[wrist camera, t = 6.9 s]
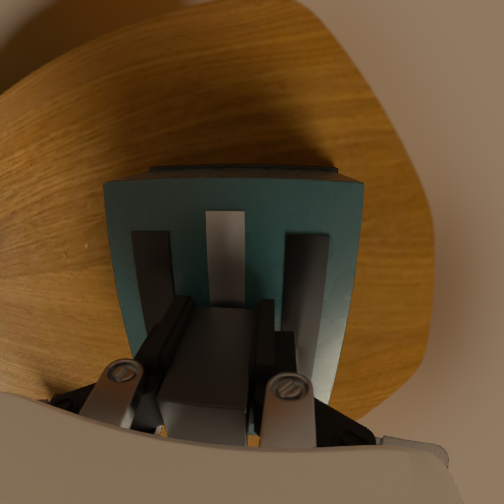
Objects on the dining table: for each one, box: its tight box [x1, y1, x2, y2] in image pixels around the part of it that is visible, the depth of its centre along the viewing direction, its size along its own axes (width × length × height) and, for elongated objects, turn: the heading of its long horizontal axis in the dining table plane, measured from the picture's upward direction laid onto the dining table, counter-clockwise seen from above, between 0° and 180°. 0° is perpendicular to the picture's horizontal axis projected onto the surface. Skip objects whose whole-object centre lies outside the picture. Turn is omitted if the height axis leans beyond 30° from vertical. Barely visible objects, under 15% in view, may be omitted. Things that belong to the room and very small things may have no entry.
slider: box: [156, 306, 255, 447], centre depth 9 cm, size 2×2×5 cm
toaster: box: [103, 164, 364, 435], centre depth 15 cm, size 10×14×6 cm
